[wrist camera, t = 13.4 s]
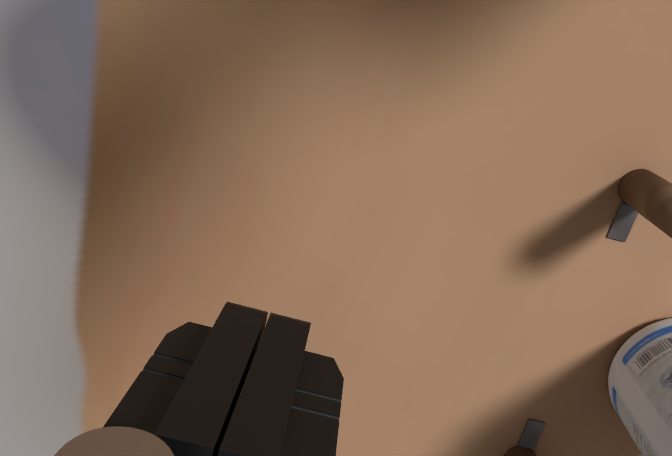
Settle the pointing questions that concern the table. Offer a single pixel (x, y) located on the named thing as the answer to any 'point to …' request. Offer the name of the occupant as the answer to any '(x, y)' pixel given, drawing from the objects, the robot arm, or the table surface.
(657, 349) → the supplement tub
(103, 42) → the table surface
